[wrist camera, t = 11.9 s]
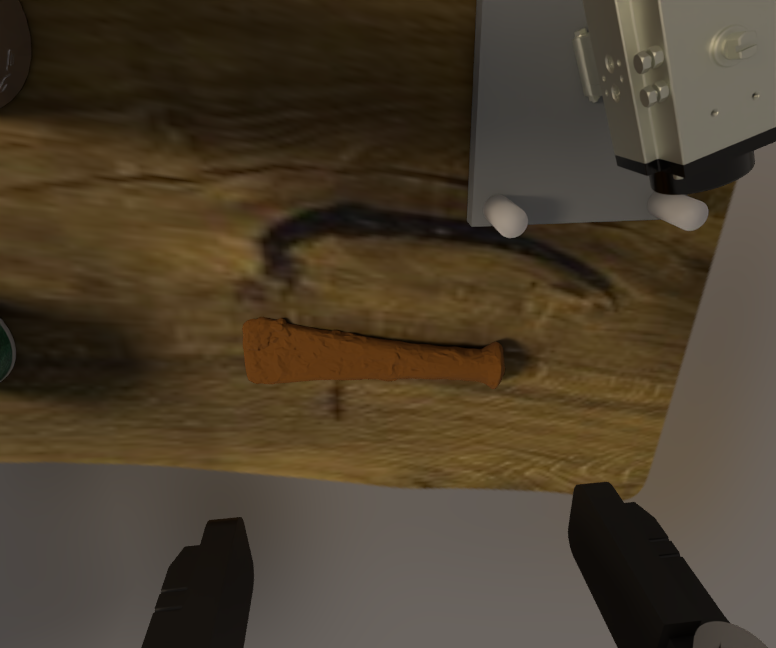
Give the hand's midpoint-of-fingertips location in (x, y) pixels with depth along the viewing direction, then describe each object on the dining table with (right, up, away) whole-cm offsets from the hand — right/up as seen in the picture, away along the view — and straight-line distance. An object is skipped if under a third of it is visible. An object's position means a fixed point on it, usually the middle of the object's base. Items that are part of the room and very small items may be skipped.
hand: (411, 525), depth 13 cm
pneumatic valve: (+11, +20, +17) cm, 29 cm away
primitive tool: (-2, +3, +27) cm, 27 cm away
